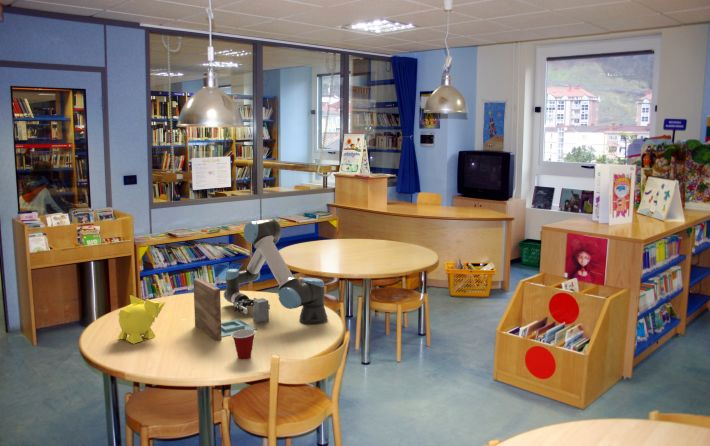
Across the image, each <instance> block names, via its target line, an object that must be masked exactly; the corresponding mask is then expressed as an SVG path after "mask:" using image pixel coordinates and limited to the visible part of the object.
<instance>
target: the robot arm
mask: <svg viewBox="0 0 710 446" xmlns="http://www.w3.org/2000/svg"><path fill="white" fill-rule="evenodd" d="M281 235H282V226H281V224H280V223H279V221H277V220H275V219H274V218H265V219H264V218H263V219H258V220H251V221H248V222H247V223H246V224H245V225H244V227H243V238H244V240H245V242H246V243H248V244H252V245H253V247H254V249H256V250H255V251H254V253H253V254H252V255H253V256H251V259H250V261H249V263H248V265H247V267H246V268H245V269H244V270H243V269H242V270H239V269H237V268H229V269H227V270H226V271H225V284H226V287H225V290H224V292H223V298H224V300H226V301H227V302H229V303H231V304H233V307H234V312H237V311H238V313H241V312H242V313H244V314H245V315H247V314H248V308H247V307H253V300H256V299H257V298H256V297H254V298H253V299H250V298H249V296H248V295H246V294H244V293H242V292H241V291H240V285H243V284H247V283H253V282H255V281H258V280H259V279H260V277H261V269H262V267H263V265H264V264H265V262H266V264H267V266H268V268H269V269H270V272H271V273H272V275H273V276H274V278H275V280H276V282H277V283H278V285H279V286H278V295H277V296H278V300H279V303H280V304H281V306H283V307H284V308H286V309H289V310H293V309H297V308H300V307H302V308H301V312H300V315H299V322H301V323H302V324H306V325H320V324H324V323H326V322H327V321H328V314H327V312H326V311H327V310H326V307H325V281H324V280H323V279H320V278H316V277H314V278H313V277H304V278H303V279H302V281H300V280H299V279H298V277H294V275H293V274H292V272H291V271H290V268H289V267H288V265H287V263H286V262H285V259H284V258H283V256H282V255H281V253H280V251H279V249H278V248H277V246H276V244H277V243H278V242H279V240H280V239H281ZM270 310H271V304H269V311H270Z"/></svg>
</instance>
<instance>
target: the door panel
mask: <svg viewBox="0 0 710 446" xmlns="http://www.w3.org/2000/svg"><path fill="white" fill-rule="evenodd" d="M192 281H193V305H194V327H195V328H197V329H198V330H199V331H201V332H202V333H204V334H205V335H207V336H208V337H210V338H211V339H213V340H214V341H222V338H223V337H221V322H222V313H221V311H222V309H221V307H222V306H221V304H222V303H221V288H219V287H218V286H216V285H214V284H212V283H210V282H208V281H206V280H204V279H202V278H200V277H196V278H193V279H192Z"/></svg>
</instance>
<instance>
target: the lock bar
mask: <svg viewBox="0 0 710 446" xmlns="http://www.w3.org/2000/svg"><path fill="white" fill-rule="evenodd" d="M252 300H253V306H252V308H253V309H252V311H253V315H252V317H253V322H254V323H256V324H257V325H262V324H267V323H269V322H270V317H269V315H270V314H269V312H270V310H269V305H270V303H269V300H268V299H265V298H264V297H262V298H256V300H254V299H252Z"/></svg>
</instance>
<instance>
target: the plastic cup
mask: <svg viewBox="0 0 710 446" xmlns="http://www.w3.org/2000/svg"><path fill="white" fill-rule="evenodd" d="M255 334H256V330H252V329H243V330H238V331H235V332H233V333H232V334H231V335H230V336H231V337H232V338H233V342H234V344H235V345H234V346H235V351H236V355H237V359H239V360H250V358H251V357H252V352H253V346H254V339H255Z"/></svg>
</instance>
